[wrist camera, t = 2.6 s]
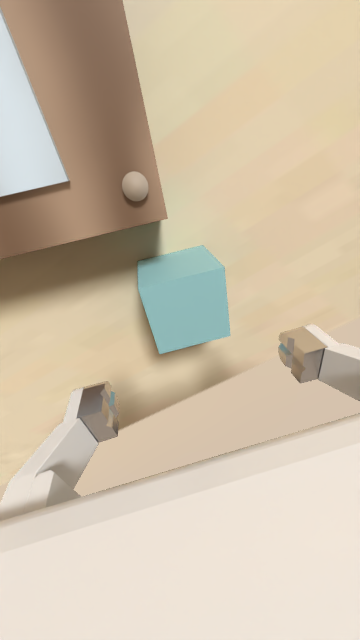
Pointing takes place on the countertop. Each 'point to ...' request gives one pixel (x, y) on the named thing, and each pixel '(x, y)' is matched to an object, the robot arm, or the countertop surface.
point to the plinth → (71, 126)
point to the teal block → (184, 298)
